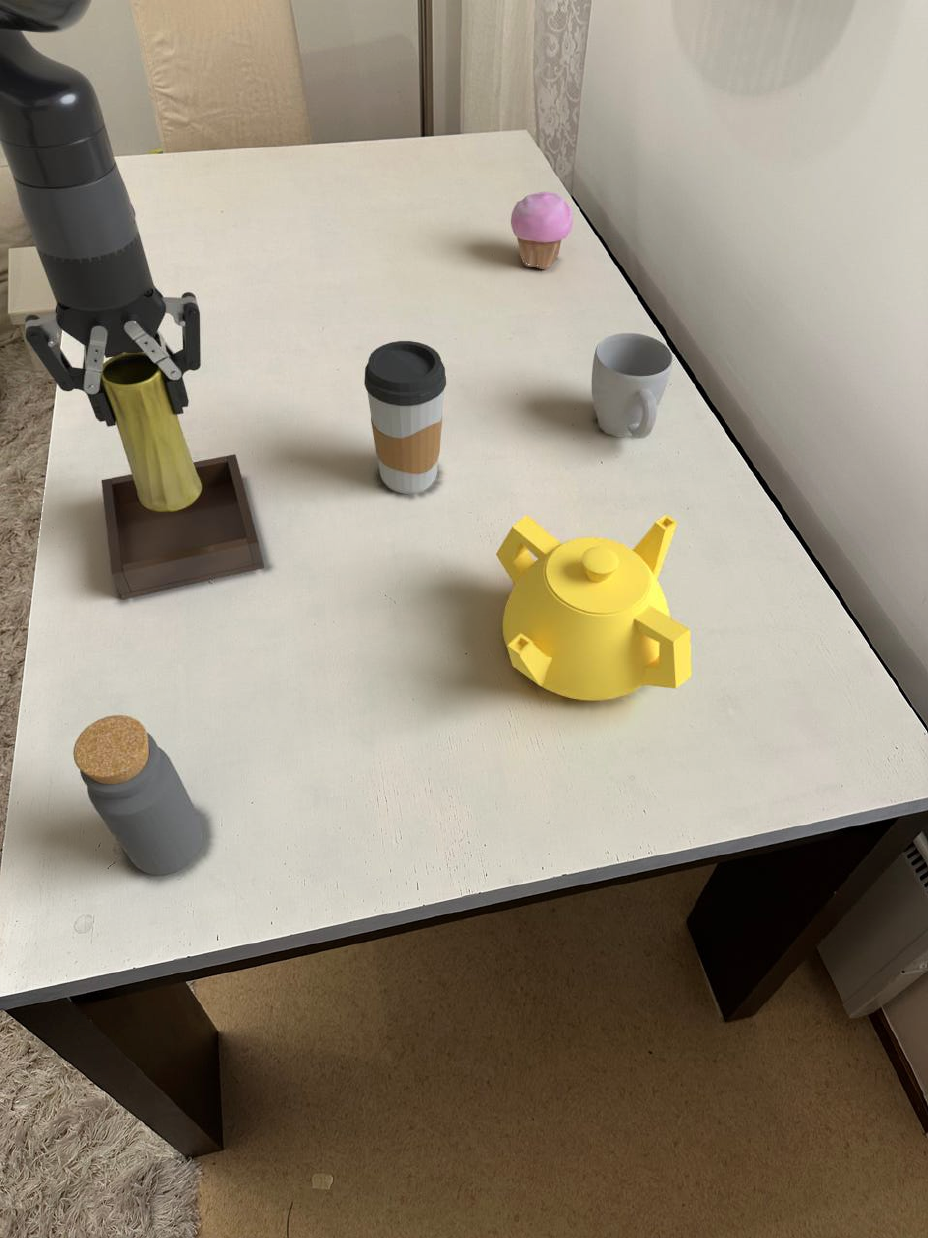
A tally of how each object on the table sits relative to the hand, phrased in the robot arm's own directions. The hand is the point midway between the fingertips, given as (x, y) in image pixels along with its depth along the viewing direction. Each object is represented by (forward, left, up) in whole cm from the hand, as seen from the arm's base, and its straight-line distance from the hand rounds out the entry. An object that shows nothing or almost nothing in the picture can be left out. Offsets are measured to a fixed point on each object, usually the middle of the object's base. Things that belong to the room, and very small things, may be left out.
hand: (145, 414), depth 76 cm
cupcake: (+57, +42, -16) cm, 73 cm away
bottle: (-6, -34, -16) cm, 38 cm away
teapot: (+34, -26, -16) cm, 46 cm away
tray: (0, 0, -16) cm, 16 cm away
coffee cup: (+25, +2, -16) cm, 30 cm away
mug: (+52, +2, -16) cm, 55 cm away
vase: (0, 0, -10) cm, 10 cm away
